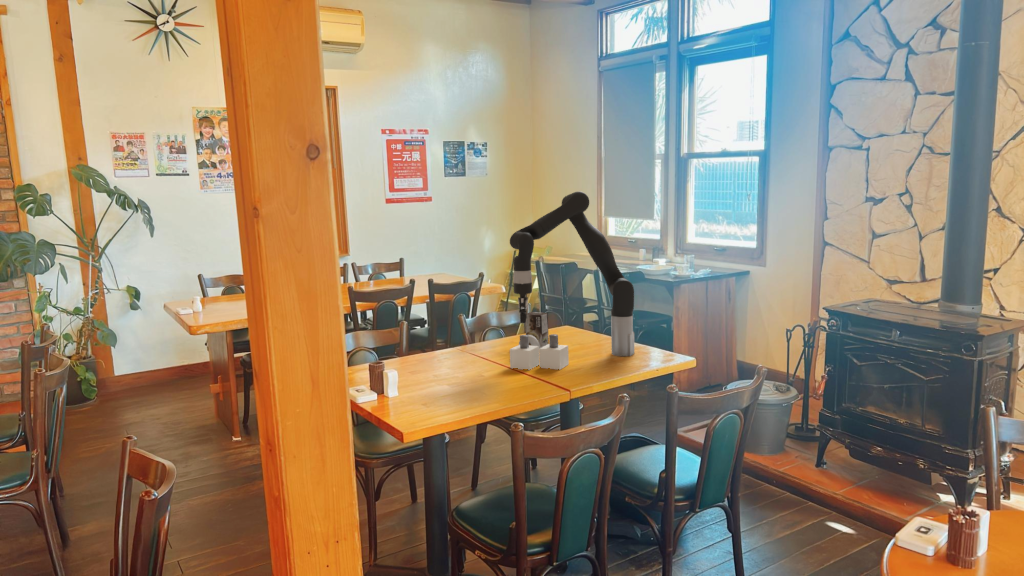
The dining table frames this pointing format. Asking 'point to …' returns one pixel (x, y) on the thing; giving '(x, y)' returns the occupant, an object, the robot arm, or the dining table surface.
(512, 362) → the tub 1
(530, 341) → the donut
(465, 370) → the dining table surface
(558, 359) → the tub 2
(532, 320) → the grey mechanical block
